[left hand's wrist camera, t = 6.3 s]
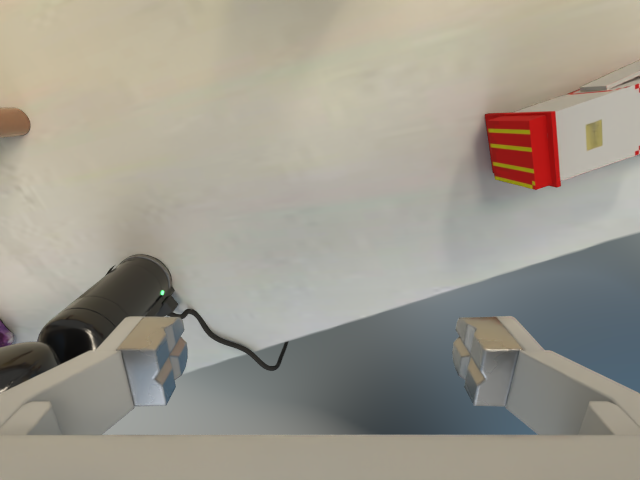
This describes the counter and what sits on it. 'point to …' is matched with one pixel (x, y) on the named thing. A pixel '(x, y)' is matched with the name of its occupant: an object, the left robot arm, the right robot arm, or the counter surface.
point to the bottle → (13, 122)
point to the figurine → (5, 336)
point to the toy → (568, 132)
